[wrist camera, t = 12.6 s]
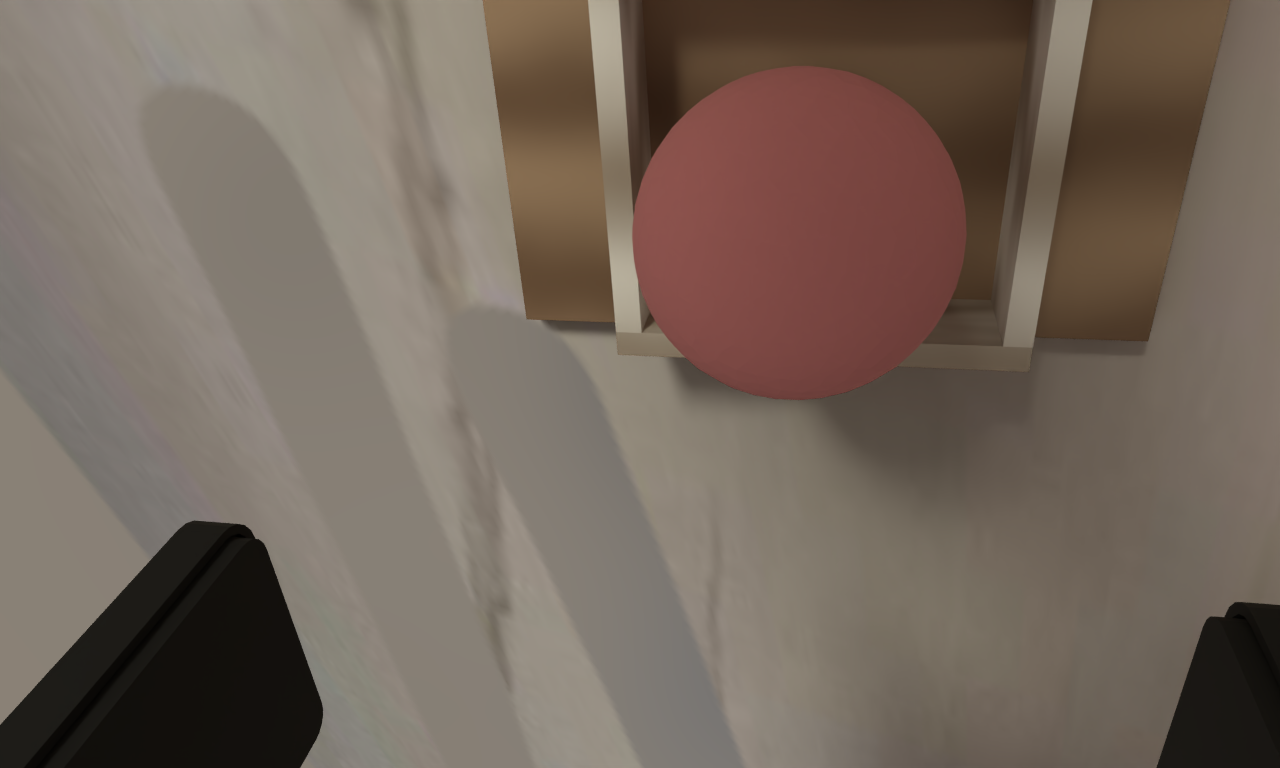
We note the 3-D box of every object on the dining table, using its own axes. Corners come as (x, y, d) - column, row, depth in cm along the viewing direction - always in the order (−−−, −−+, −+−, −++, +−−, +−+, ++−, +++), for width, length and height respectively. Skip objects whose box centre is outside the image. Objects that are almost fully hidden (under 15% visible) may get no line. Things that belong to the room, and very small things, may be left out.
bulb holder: (481, -100, 27) (428, -85, 24) (1250, -142, 23) (1315, -133, 20) (534, 306, 34) (499, 361, 31) (1139, 326, 30) (1175, 392, 27)
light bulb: (646, 80, 28) (528, 237, 18) (870, -57, 25) (876, 40, 15) (762, 276, 31) (715, 509, 21) (979, 172, 28) (1047, 385, 18)
